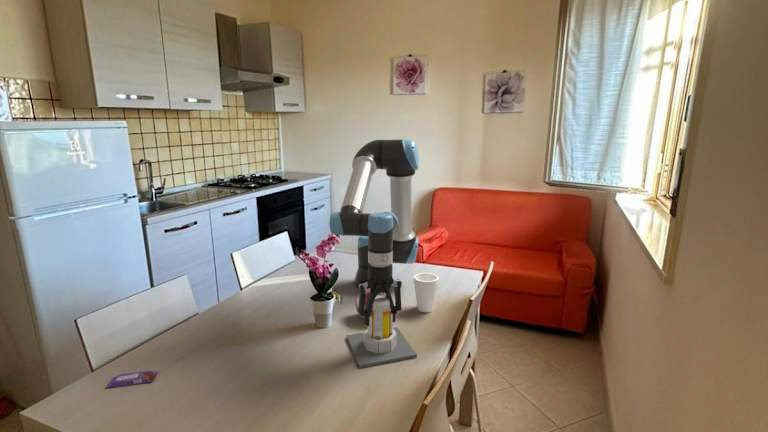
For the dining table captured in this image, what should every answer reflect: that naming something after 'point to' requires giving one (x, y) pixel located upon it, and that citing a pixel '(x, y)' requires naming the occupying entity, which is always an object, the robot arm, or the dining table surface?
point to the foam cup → (425, 291)
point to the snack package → (132, 378)
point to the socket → (380, 348)
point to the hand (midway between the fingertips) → (380, 332)
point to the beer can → (380, 318)
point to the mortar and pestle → (367, 293)
